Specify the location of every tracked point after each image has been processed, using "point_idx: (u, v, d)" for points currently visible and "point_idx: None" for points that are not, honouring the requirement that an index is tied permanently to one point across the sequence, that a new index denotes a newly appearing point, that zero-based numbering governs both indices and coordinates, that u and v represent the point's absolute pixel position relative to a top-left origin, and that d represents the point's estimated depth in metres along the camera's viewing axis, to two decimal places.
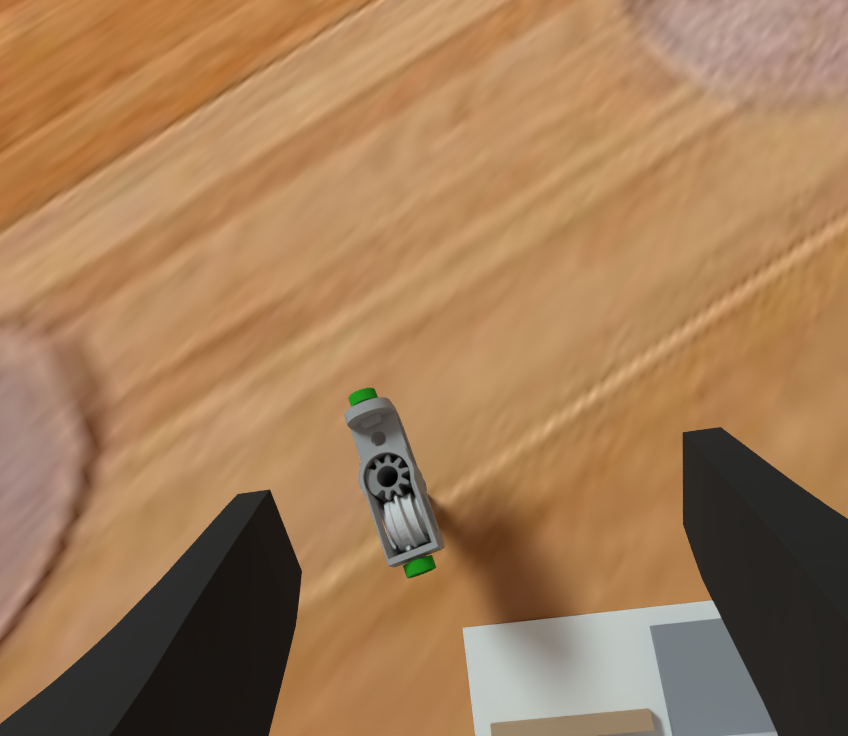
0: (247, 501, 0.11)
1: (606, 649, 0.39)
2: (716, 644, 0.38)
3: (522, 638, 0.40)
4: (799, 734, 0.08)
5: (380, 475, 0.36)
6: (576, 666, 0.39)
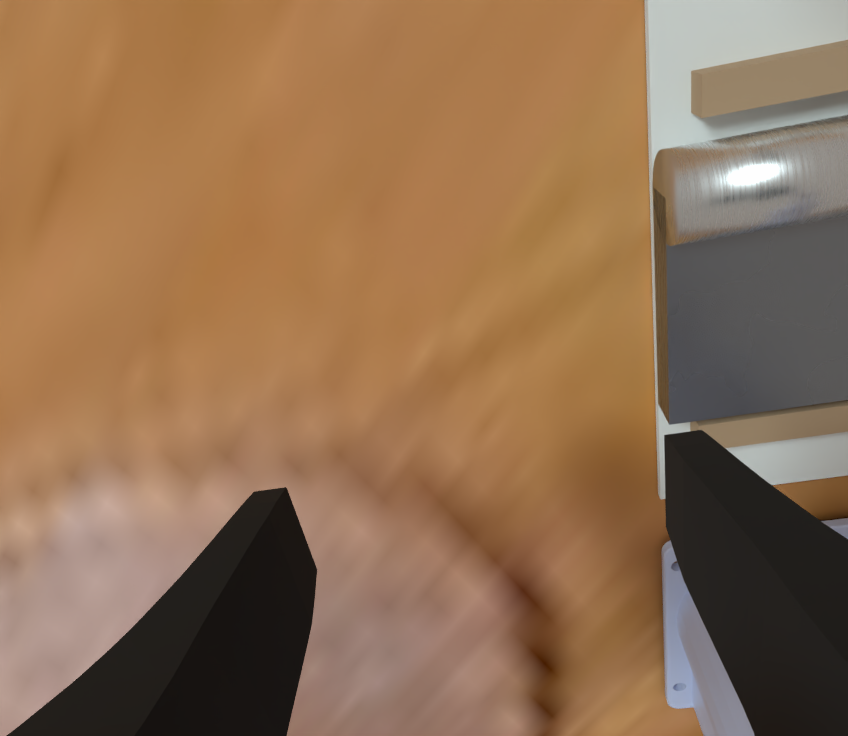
0: (263, 498, 0.11)
1: None
2: None
3: None
4: None
5: None
6: None
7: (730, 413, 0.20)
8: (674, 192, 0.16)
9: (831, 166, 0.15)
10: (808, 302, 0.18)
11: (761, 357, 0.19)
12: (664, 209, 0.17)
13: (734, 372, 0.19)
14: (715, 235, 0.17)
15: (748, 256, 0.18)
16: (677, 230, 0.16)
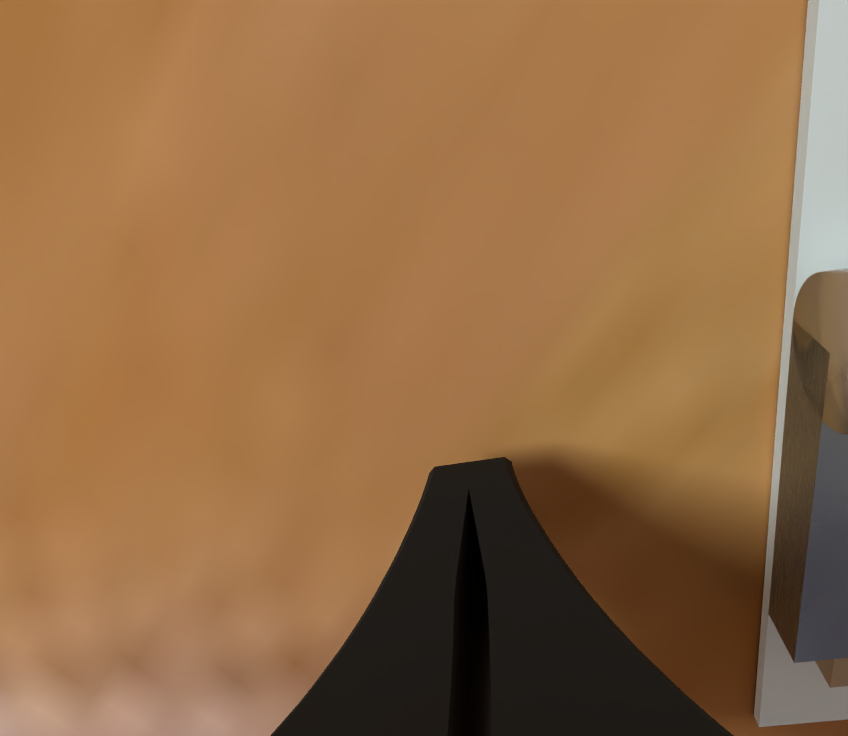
0: (451, 473, 0.11)
1: None
2: None
3: None
4: None
5: None
6: None
7: None
8: None
9: None
10: None
11: None
12: (823, 367, 0.10)
13: None
14: None
15: None
16: None
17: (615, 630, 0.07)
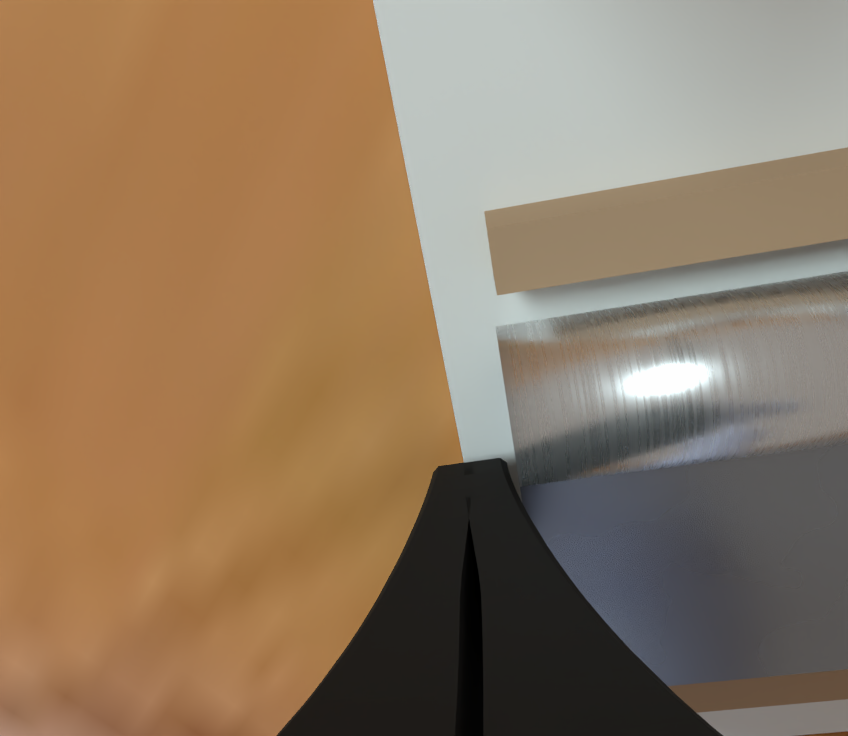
0: (455, 472, 0.11)
1: None
2: None
3: None
4: None
5: None
6: None
7: None
8: None
9: (779, 386, 0.08)
10: (755, 549, 0.11)
11: (684, 618, 0.12)
12: None
13: (644, 637, 0.12)
14: (586, 477, 0.10)
15: (653, 488, 0.11)
16: None
17: (608, 631, 0.07)
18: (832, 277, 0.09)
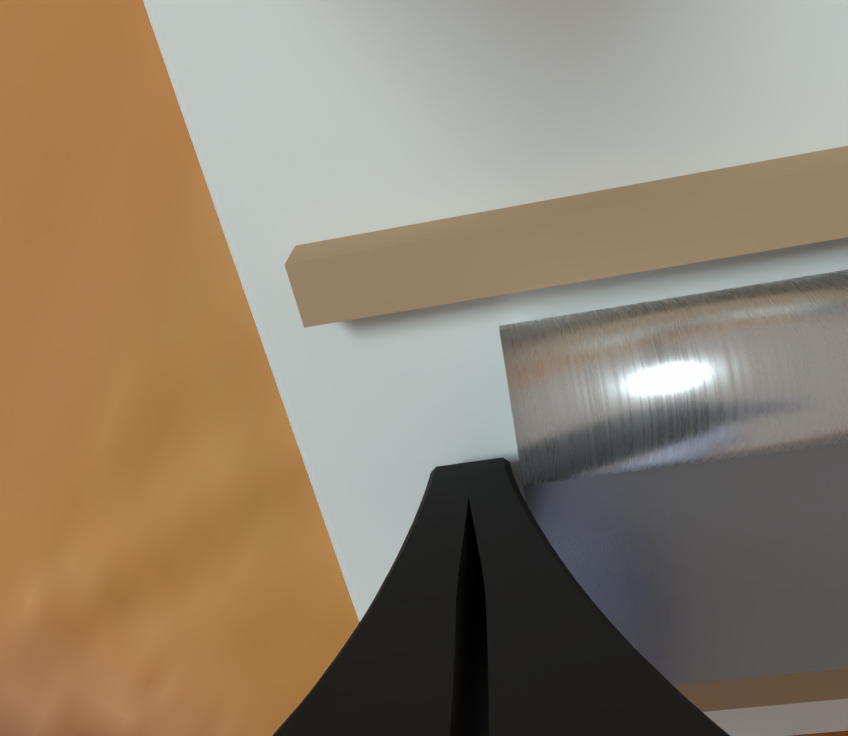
0: (452, 473, 0.11)
1: None
2: None
3: None
4: None
5: None
6: None
7: None
8: None
9: (784, 384, 0.08)
10: (759, 547, 0.11)
11: (688, 617, 0.12)
12: None
13: (648, 636, 0.12)
14: (590, 476, 0.10)
15: (657, 486, 0.11)
16: (521, 473, 0.09)
17: (613, 630, 0.07)
18: (836, 275, 0.09)
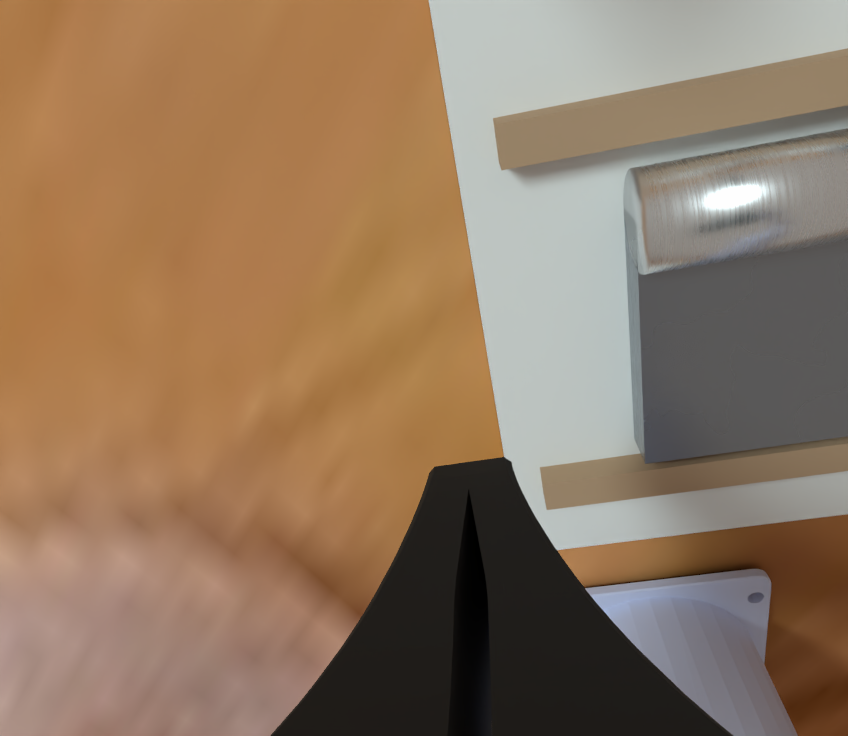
0: (451, 473, 0.11)
1: None
2: None
3: None
4: None
5: None
6: None
7: (711, 451, 0.18)
8: (644, 217, 0.14)
9: (819, 189, 0.14)
10: (795, 333, 0.17)
11: (744, 392, 0.17)
12: (635, 233, 0.15)
13: (715, 408, 0.18)
14: (690, 264, 0.15)
15: (728, 285, 0.16)
16: (648, 259, 0.15)
17: (615, 630, 0.07)
18: None
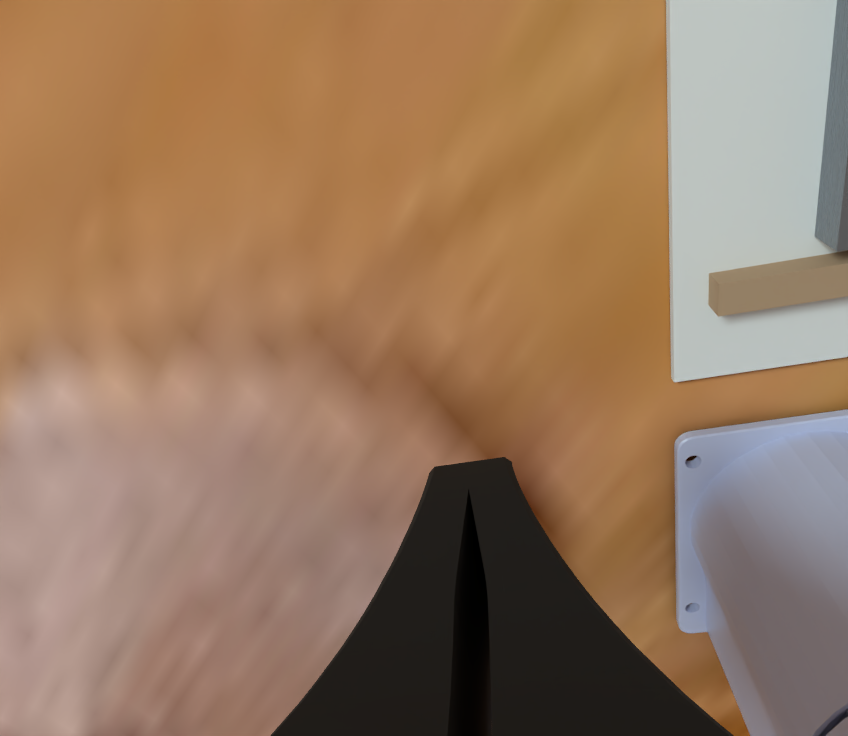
0: (451, 473, 0.11)
1: None
2: None
3: None
4: None
5: None
6: None
7: None
8: None
9: None
10: None
11: None
12: None
13: None
14: None
15: None
16: None
17: (615, 630, 0.07)
18: None
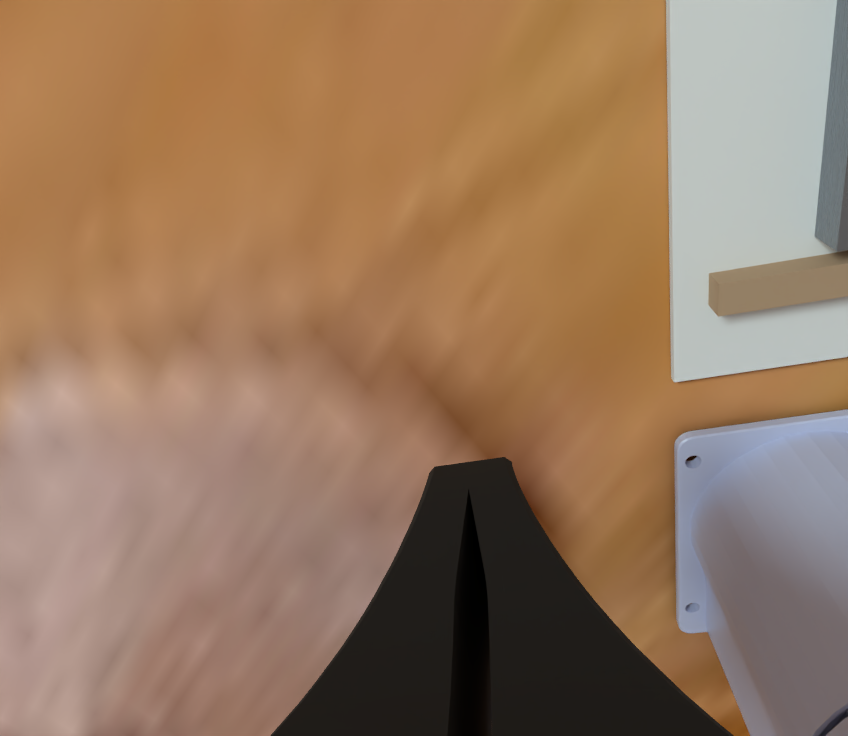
0: (451, 473, 0.11)
1: None
2: None
3: None
4: None
5: None
6: None
7: None
8: None
9: None
10: None
11: None
12: None
13: None
14: None
15: None
16: None
17: (615, 630, 0.07)
18: None
